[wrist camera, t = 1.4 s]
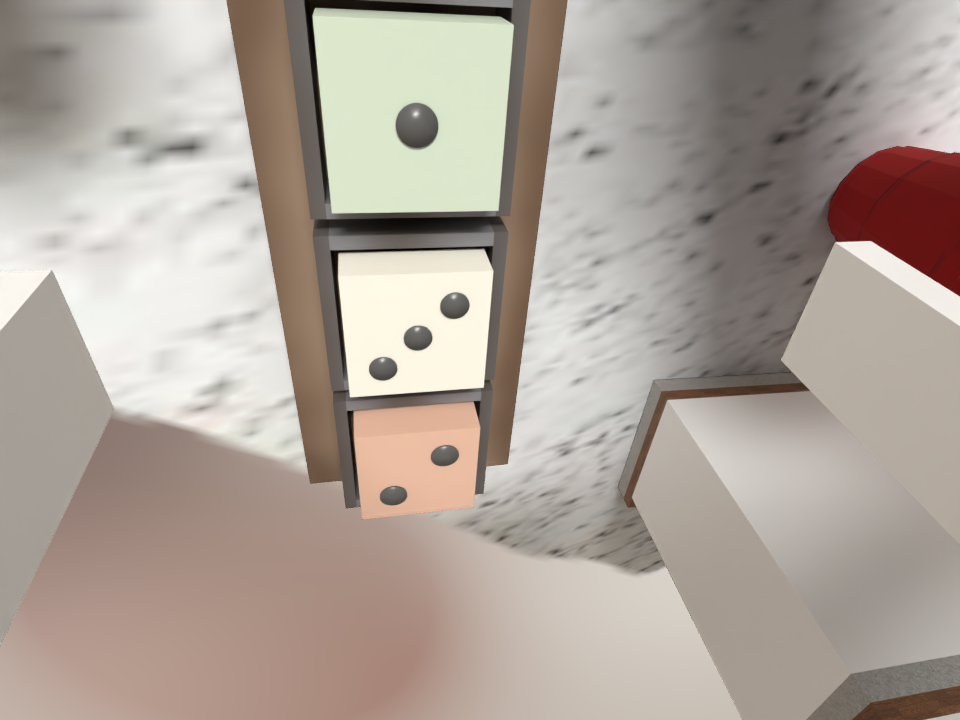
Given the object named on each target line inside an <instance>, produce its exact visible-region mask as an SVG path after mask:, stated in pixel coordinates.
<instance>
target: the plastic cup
mask: <svg viewBox="0 0 960 720" xmlns="http://www.w3.org/2000/svg"><path fill="white" fill-rule="evenodd" d="M828 222H829V226H830V229H831V233H832V234H833V235H834V236H835V239H836V241H837V242H858V241H872V242H873V243H875V244H876V245H878V246H880V247H881V248H883V249H884V250H886V251H888V252H889V253H891V254H892V255H894V256H896V257H897V258H899V259H900V260H902V261H904V262H905V263H907V264H908V265H910V266H912V267H913V268H915V269H916V270H918V271H920V272H921V273H923V274H924V275H926V276H928V277H929V278H931V279H933V280H934V281H936V282H937V283H939V284H941V285H942V286H944V287H945V288H947V289H949V290H950V291H952V292H953V293H955V294H957V295H958V296H960V153H955V152H954V153H951V154H950V153H945V152H940V151H934V150H929V149H923V148H917V147H911V146H906V147H899V146H896V147H892V148H889V149H885V150H882V151H878V152H876V153H875V154H873V155H872V156H870V157H869V158H867V159H865V160H864V161H862V162H861V163H859V164H858V165H857V166H856V167H855V168H854V169H853V170H852V171H851V172H850V173H849V174H848V176H847V177H846V178H845V179H844V180H843V181H842V182H841V184H840V186H839V187H838V189H837V191H836V193H835V195H834V197H833V198H832V200H831V204H830V209H829V214H828Z"/></svg>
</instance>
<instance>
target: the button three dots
mask: <svg viewBox="0 0 960 720" xmlns="http://www.w3.org/2000/svg"><path fill="white" fill-rule="evenodd" d="M338 281H339V291H340V301H341V311H342V321H343V331H344V342H345V352H346V362H347V372H348V382H349V392H350V397H362V396H375V395H389V394H403V393H416V392H430V391H444V390H458V389H471V388H484V378H485V366H486V354H487V342H488V330H489V318H490V306H491V294H492V282H493V269H492V266H491V264H490V262H489V259H488V257H487V255H486V252H485V250H484V248H483V249H447V250H411V251H375V252H339V254H338Z"/></svg>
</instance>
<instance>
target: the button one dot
mask: <svg viewBox="0 0 960 720" xmlns="http://www.w3.org/2000/svg"><path fill="white" fill-rule="evenodd" d="M313 27H314V37H315V47H316V57H317V67H318V77H319V88H320V98H321V108H322V118H323V128H324V138H325V149H326V159H327V169H328V179H329V189H330V199H331V209H332V213H392V212H456V211H498V210H499V198H500V186H501V174H502V162H503V150H504V138H505V126H506V114H507V102H508V90H509V78H510V66H511V54H512V42H513V30H514V25H513V24H512V23H510V22H508V21H507V20H505V19H504V18H502V17H500V16H481V15H460V14H439V13H419V12H398V11H377V10H356V9H335V8H315V10H314V13H313Z"/></svg>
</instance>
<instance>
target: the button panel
mask: <svg viewBox="0 0 960 720" xmlns="http://www.w3.org/2000/svg"><path fill="white" fill-rule="evenodd" d="M227 6H228V12H229V18H230V23H231V29H232V35H233V41H234V46H235V52H236V58H237V64H238V70H239V75H240V81H241V87H242V93H243V98H244V104H245V110H246V116H247V121H248V127H249V133H250V139H251V145H252V150H253V156H254V162H255V168H256V173H257V179H258V185H259V191H260V197H261V202H262V208H263V214H264V220H265V225H266V231H267V237H268V243H269V248H270V254H271V260H272V266H273V272H274V277H275V283H276V289H277V295H278V300H279V306H280V312H281V318H282V323H283V329H284V335H285V341H286V347H287V352H288V358H289V364H290V370H291V375H292V381H293V387H294V393H295V399H296V404H297V410H298V416H299V422H300V427H301V433H302V439H303V445H304V450H305V456H306V462H307V468H308V474H309V479H310V483H321V482H332V481H343V489H344V497H345V505H346V508H354V507H361V504H360V494H359V484H358V474H357V463H356V453H355V443H354V410H365V409H378V408H391V407H404V406H417V405H430V404H443V403H456V402H469V401H473V402H474V405H475V409H476V413H477V417H478V420H479V424H480V438H479V450H478V462H477V474H476V486H475V494H483V491H484V481H485V471H486V466H494V465H504V464H508V457H509V449H510V442H511V434H512V426H513V418H514V411H515V403H516V395H517V387H518V380H519V372H520V364H521V356H522V349H523V341H524V333H525V325H526V318H527V310H528V302H529V294H530V287H531V279H532V271H533V263H534V256H535V248H536V240H537V232H538V225H539V217H540V209H541V201H542V194H543V186H544V178H545V170H546V163H547V155H548V147H549V139H550V132H551V124H552V116H553V108H554V101H555V93H556V85H557V77H558V70H559V62H560V54H561V46H562V39H563V31H564V23H565V15H566V8H567V0H227ZM315 8H335V9H356V10H377V11H398V12H419V13H439V14H460V15H481V16H500V17H502V18H504V19H505V20H507V21H508V22H510V23H512V24H513V25H514V30H513V42H512V54H511V66H510V78H509V90H508V102H507V114H506V126H505V138H504V150H503V162H502V174H501V186H500V198H499V210H498V211H456V212H392V213H332V209H331V199H330V189H329V179H328V169H327V159H326V149H325V138H324V128H323V118H322V108H321V98H320V88H319V77H318V67H317V57H316V47H315V37H314V27H313V13H314V10H315ZM483 248H484V250H485V252H486V255H487V257H488V259H489V262H490V264H491V266H492V269H493V282H492V294H491V306H490V318H489V330H488V342H487V354H486V366H485V378H484V388H471V389H458V390H444V391H430V392H416V393H403V394H389V395H375V396H362V397H350V392H349V382H348V372H347V362H346V352H345V342H344V331H343V321H342V311H341V301H340V291H339V281H338V254H339V252H375V251H411V250H447V249H483Z"/></svg>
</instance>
